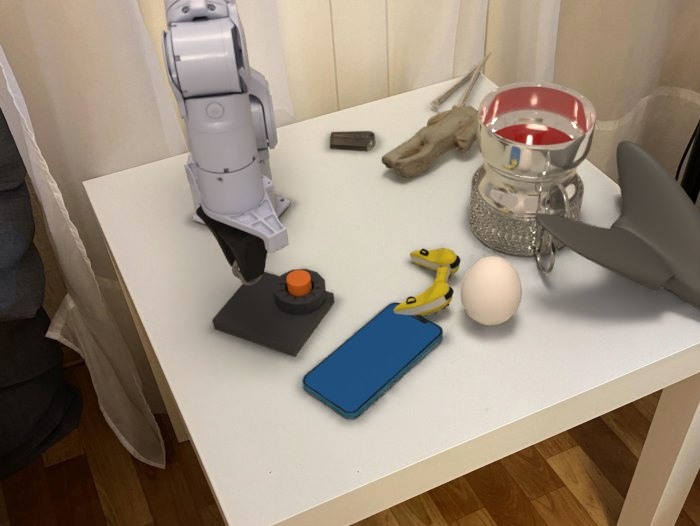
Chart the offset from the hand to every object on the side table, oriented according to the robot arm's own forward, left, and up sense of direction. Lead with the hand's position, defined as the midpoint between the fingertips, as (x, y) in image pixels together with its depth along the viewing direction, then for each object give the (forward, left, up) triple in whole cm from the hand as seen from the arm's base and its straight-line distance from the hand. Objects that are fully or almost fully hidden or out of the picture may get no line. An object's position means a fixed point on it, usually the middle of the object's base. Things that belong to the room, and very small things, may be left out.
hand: (247, 270), depth 86 cm
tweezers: (+3, +55, -6) cm, 55 cm away
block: (-6, +35, -8) cm, 36 cm away
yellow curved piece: (+15, +12, -8) cm, 21 cm away
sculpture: (+5, +36, -8) cm, 37 cm away
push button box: (+1, +2, -8) cm, 8 cm away
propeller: (+37, +23, -5) cm, 44 cm away
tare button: (+3, +4, -5) cm, 7 cm away
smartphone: (+14, 0, -8) cm, 16 cm away
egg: (+22, +11, -8) cm, 26 cm away
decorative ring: (0, 0, -2) cm, 2 cm away
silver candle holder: (+22, +27, -8) cm, 36 cm away
